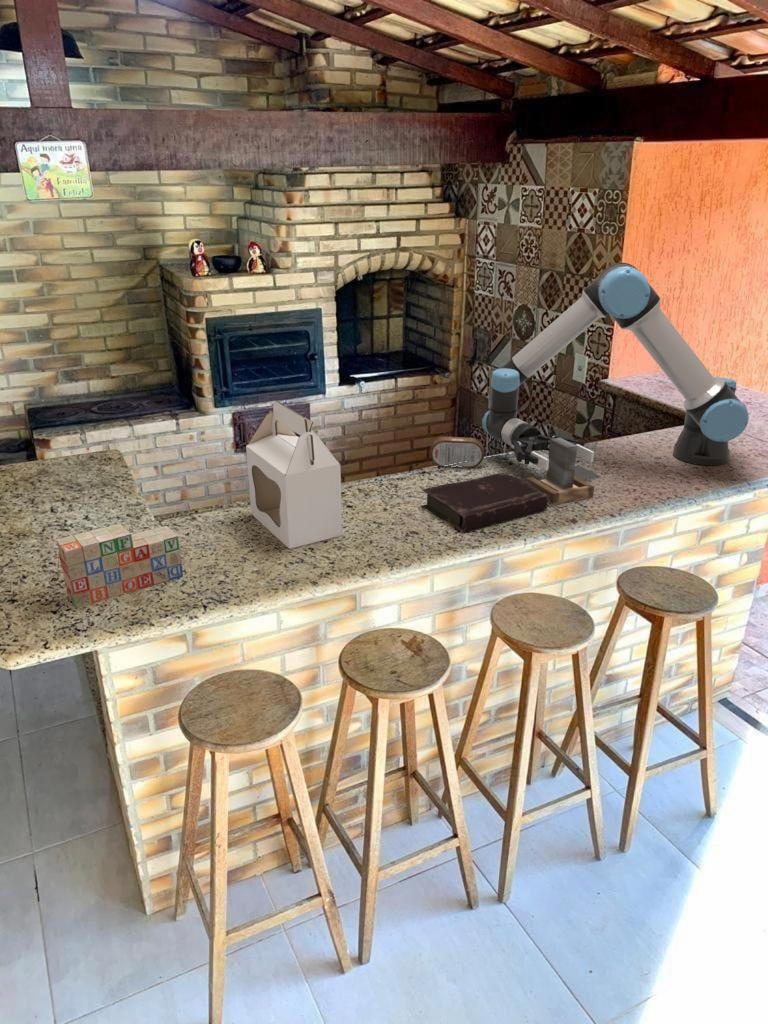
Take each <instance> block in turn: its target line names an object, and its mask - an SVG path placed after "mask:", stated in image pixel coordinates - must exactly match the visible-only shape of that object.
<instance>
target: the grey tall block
mask: <svg viewBox="0 0 768 1024" xmlns="http://www.w3.org/2000/svg"><path fill="white" fill-rule="evenodd" d="M548 448H549V451H548V457H547V459H549V467H548V470H546V477H545V478H544V479H540V481H539V482H541V483H543V484H545V485H546V486H548V487H550V488H551V489H553V490H555V491H557V492H558V491H563V490H568V489H573V488H578V487H577V486H576V485H574V484H573V480H574V471H575V466H576V461H577V455H576V453H577V446H576V445H574V444H572V443H570V442H568V441H566V440H564V439H562V438H554V439H550V442H549V445H548Z"/></svg>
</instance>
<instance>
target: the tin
mask: <svg viewBox="0 0 768 1024" xmlns="http://www.w3.org/2000/svg"><path fill="white" fill-rule="evenodd" d="M429 450H430V451H429V452H430V458H431V460H432V462H433V463H434V464H436V465H437V466H439V467H441V466H444V465H448V466H445V467H444V468H452V467H451V466H456V465H459V466H462V467H466V468H465V469H474V468H477V467H478V466H480V464H481V463H482V462H483V460H484V458H485V446H484V445H483V443H482V442H481V441H480V440H478V438H474V437H459V436H441V437H438V438H436V439H435V440H433V441H432V443H431V445H430V449H429ZM464 461H467V462H464ZM459 462H462V463H459ZM454 463H457V464H454ZM449 464H453V465H449ZM456 467H458V466H456Z"/></svg>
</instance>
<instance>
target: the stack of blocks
mask: <svg viewBox="0 0 768 1024" xmlns="http://www.w3.org/2000/svg"><path fill="white" fill-rule="evenodd" d="M56 544H57V548H58V549H57V550H58V557H59V562H60V567H61V570H62V574H63V578H64V584H65V588H66V593H67V596H68V595H69V596H68V597H70V598H71V599H70V598H69V599H70V601H71V600H72V603H73V605H74V607H75V608H77V609H78V608H81V607H83V606H87V605H91V604H95V603H98V601H99V602H101V600H102V601H105V600H109V599H112V598H116V597H118V596H119V597H120V596H122V595H125V594H128V593H131V592H135V591H138V590H141V589H144V588H148V587H151V586H153V585H158V584H161V583H164V582H167V581H171V580H175V579H178V578H179V579H180V578H181V577H184V574H183V564H182V554H181V550H180V543H179V536H178V535H177V534H176V533H175V532H174V530H172V529H171V528H170V527H169V526H167V525H165V526H160V527H156V528H153V529H148V530H145V531H144V530H143V531H140V532H136V533H132V534H131V532H129V530H128V529H126V528H125V526H123V524H121V523H116V524H113V525H109V526H106V527H101V528H97V529H92V530H90V531H86V532H82V533H81V532H80V533H78V534H74V535H70V536H69V535H68V536H65V537H61V538H58V539H56ZM124 593H125V594H124ZM108 598H109V599H108Z"/></svg>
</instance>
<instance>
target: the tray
mask: <svg viewBox="0 0 768 1024" xmlns="http://www.w3.org/2000/svg"><path fill="white" fill-rule="evenodd" d="M525 483H527V484H528V485H530V486H532V487H533V488H535V489H537V490H539V491H541V492H543V493H545V494H547V496H548V503H549V504H550V505H551V506H554V505H555V506H556V505H562V504H566V503H570V502H571V503H572V502H575V501H582V500H586V499H590V498H594V492H595V486H594V485H593V484H591V483H589V482H587V481H586V480H585V481H583V480H582V479H580V478H578V477H576V476H574V480H573V484H574V485H576V486H577V487H578V488H573V489H568V490H563V491H558V492H557V491H555V490H553V489H551V488H550V487H548V486H546V485H545V484H543V483H541V482H540V481H539V480H538V479H536V478H535V477H533V476H528V477H527V476H526V477H525ZM548 503H547V504H548Z"/></svg>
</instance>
